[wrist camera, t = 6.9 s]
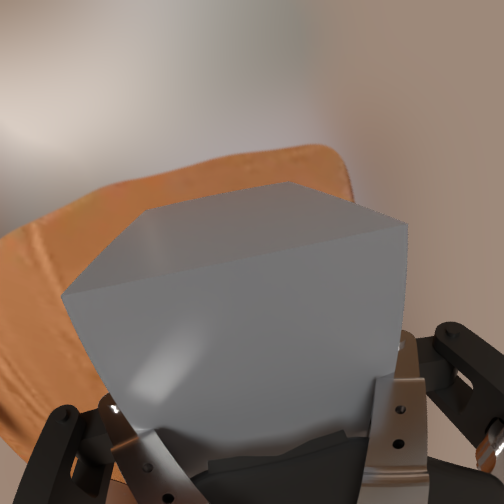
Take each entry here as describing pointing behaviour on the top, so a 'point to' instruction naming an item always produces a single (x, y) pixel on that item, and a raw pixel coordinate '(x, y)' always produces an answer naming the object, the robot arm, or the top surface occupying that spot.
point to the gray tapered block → (245, 319)
